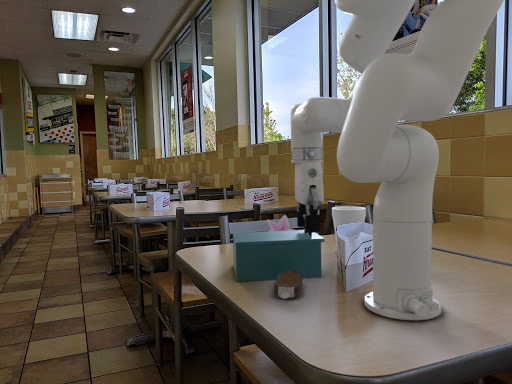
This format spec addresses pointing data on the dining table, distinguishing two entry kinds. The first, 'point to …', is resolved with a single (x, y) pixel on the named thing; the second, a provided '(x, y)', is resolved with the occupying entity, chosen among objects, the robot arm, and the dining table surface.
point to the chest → (276, 260)
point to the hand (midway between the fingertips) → (307, 228)
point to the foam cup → (347, 215)
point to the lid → (276, 237)
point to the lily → (279, 224)
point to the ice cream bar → (288, 285)
